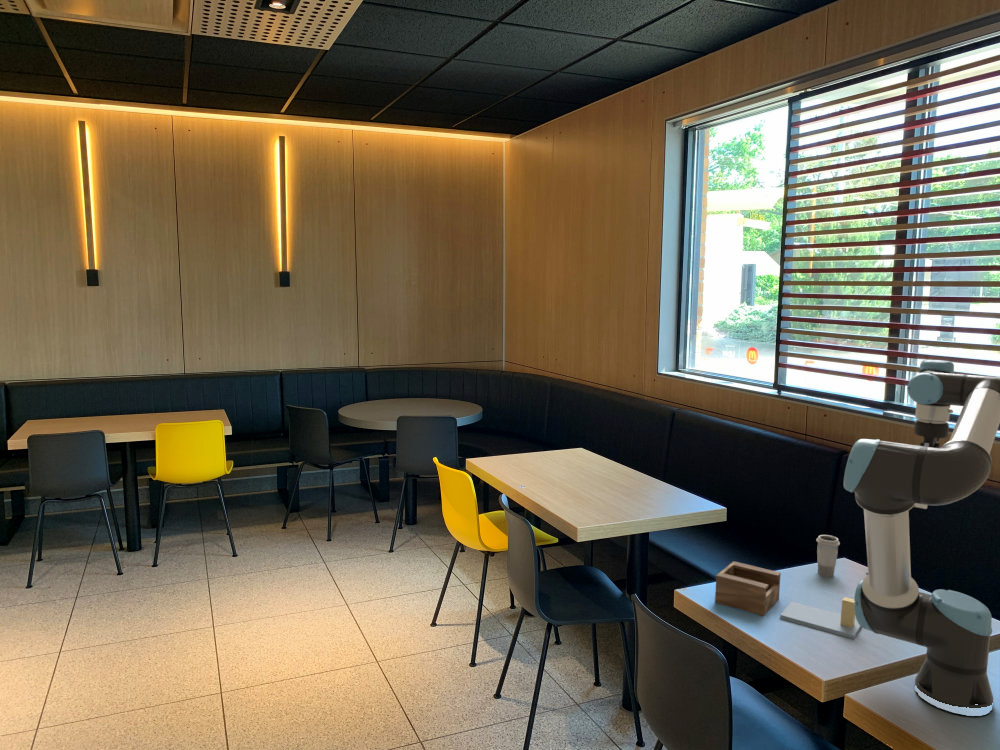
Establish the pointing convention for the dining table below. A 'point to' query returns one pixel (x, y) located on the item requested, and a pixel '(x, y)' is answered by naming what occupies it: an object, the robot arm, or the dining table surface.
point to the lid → (825, 618)
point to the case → (747, 588)
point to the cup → (827, 554)
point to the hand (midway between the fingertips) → (924, 501)
